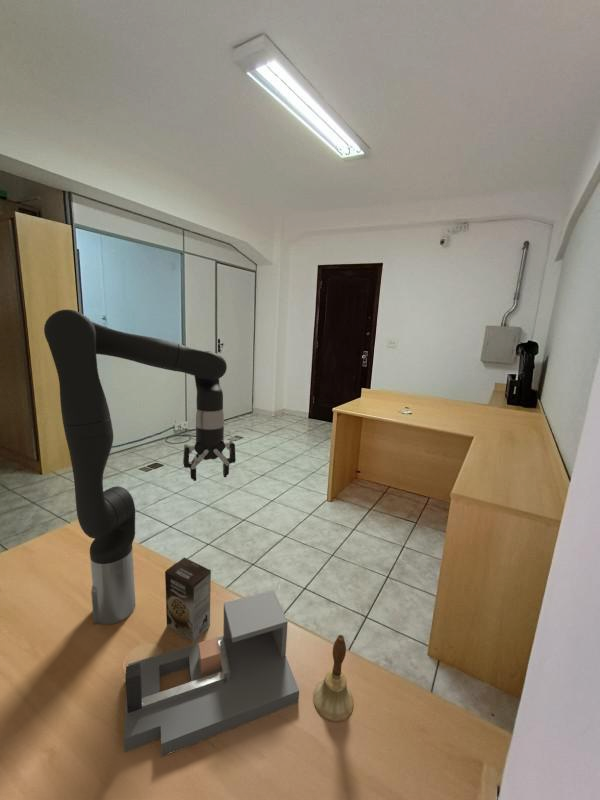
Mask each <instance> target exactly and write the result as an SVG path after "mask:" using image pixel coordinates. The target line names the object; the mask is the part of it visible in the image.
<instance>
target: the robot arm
mask: <svg viewBox="0 0 600 800" xmlns="http://www.w3.org/2000/svg"><path fill="white" fill-rule="evenodd" d="M43 332H44V337H45V340H46V342H47V343H48V344H47V345H48V347H49V351H50V353H51V356H52V360H53V363H54V366H55V369H56V372H57V373H56V374H57V377H58V383H59V384H58V386H59V398H60V413H61V417H62V419H61V420H62V425H63V430H64V434H65V435H64V436H65V440H66V444H67V447H68V451H69V452H68V453H69V456H70V463H71V468H72V474H73V475H72V476H73V483H74V484H73V485H74V495H75V507H76V515H77V520H78V523H79V526H80V528H81V530H82V531H83V533H84V534H85V535H86V536H87V537H89V538H90V539H94V540H93V541H92V542H91V544H90V547H89V557H90V567H91V568H90V571H91V581H92V585H91V591H90V595H91V606H92V617H93V624H94V625H95V624H102V625H115V624H118V623H120V622H122V621H124V620H126V619H127V618H128V617H130V616H131V615H132V613H133V612H134V611H135V608H136V589H135V586H136V585H135V572H134V553H133V552H134V551H133V542H134V540H135V537H136V506H135V505H136V504H135V501H134V499H133V496H132V495H131V492H129V490H128V489H126V488H124V487H123V486H117V485H116V486H111V487H110V488H108V489H106V490H104V483H103V482H104V472H105V468H106V465H107V463H108V460H109V456H110V453H111V451H112V447H113V443H114V430H113V424H112V419H111V413H110V408H109V405H108V401H107V399H106V394H105V392H104V389H103V386H102V382H101V380H100V375H99V369H98V359H97V358H98V357H97V355H103V356H108V357H113V358H114V357H115V358H120V359H123V360H127V361H132V362H135V363H138V364H141V365H142V364H143V365H145V366H150V367H154V368H158V369H163V370H167V371H173V372H179V373H184V374H187V375H191V376H193V377H194V381H195V388H196V413H195V443H194V445H189V444H188V443H187V444H184V445H183V458H182V461H183V462H182V464H183V467H184V468H185V469H187V468H188V469H189V471H190V475H189V476H190V478H191V480H193V482H197V466H198V465H199V464H200V463H201V462H202V461H203V460H204V461H208V460H217V459H218V458H219V460H221V462H222V476H223V478H227V477H228V476H229V474H230V465H231V464H235V463H236V461H237V458H236V443H234V441H233V440H230V441H229V442H224V440H225V439H224V435H225V432H224V430H225V428H224V427H225V425H224V424H225V417H224V415H225V414H224V394H223V389H222V388H221V386H220V378H222V377H223V376H224V375H225V374H226V372H227V369H228V367H227V362H226V360H225V359H224V357H223V356H222V355H220V354H219V353H215V352H213V351H210V350H200V349H195V348H192V347H188V346H186V345H184V344H180V343H177V342H174V341H169V340H166V339H162V338H161V339H160V338H156V337H152V336H145V335H139V334H133V333H128V332H123V331H120V330H115V329H112V328H110V327H106V326H104V325H102V324H100V323H96V322H94V321H92V320H91V319H90V318H89V317H87V316H86V315H85V314H83V313H82V312H79V311H77V310H73V309H61V310H58V311H55V312H54V313H52V314H51V315H50V316H49V317H48V318H47V319H46V321H45V324H44V327H43ZM225 449H227V450H228V451H229V457H226V456H225V454H224V453H223V451H224V450H225ZM193 451H195V452H196V454H195V455H194V456H193V459H192V460H191V461H190V454H193Z"/></svg>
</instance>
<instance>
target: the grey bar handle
mask: <svg viewBox="0 0 600 800" xmlns="http://www.w3.org/2000/svg"><path fill="white" fill-rule="evenodd" d="M218 642H219V647H220V652H221V672H219V673H216V674H213V675H210V676H207V677H204V678H201V679H198V680H195V681H192V682H190V681H189V682H186V683H183V684H179V685H177V686H175V687H171V688H169V689H165V690H162V691H160V692H159V693H156V694H153V695H150V696H147V697H144V698H142V681H141V663H136V664H133V665H130V666H128V665H127V666H126V667H125V677H124V678H125V692H126V694H125V695H126V697H127V712H128V716H131V715H134V714H137V713H139V712H142V711H145V710H148V709H151V708H154V707H157V706H160V705H163V704H165V703H168V702H171V701H174V700H177V699H180V698H183V697H186V696H188V695H191V694H194V693H197V692H200V691H203V690H206V689H209V688H211V687H214V686H217V685H220V684H223V683H226V682H229V681H230V677H231V671H230V667H229V662H228V658H227V653H226V649H225V644H224V640H220V641H218Z"/></svg>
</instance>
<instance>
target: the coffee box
mask: <svg viewBox="0 0 600 800" xmlns="http://www.w3.org/2000/svg"><path fill="white" fill-rule="evenodd" d="M164 575H165V576H164V577H165V579H164V580H165V606H166V608H165V612H166V627H167V628H169V629H170V630H172V631H173V632H175V633H177V634H178V635H180V636H181V637H183V638H185V639H186V640H188V641H189V642H191V643H195V641H197V639H198V638H199V637H200V636H201V635H202V634H203V633H204V632H205V631H206V630H207V629H208V628H209V627H210V625H211V593H212V591H211V588H212V587H211V585H212V584H211V580H212V576H211V575H212V571H211V569H210V568H208V567H206V566H203V565H201V564H199V563H197V562H195V561H193V560H191V559H189V558H186V557H182V558H181V559H180V560H179V561H177V562H176V563H174V564H172V565H171V566H170V567H169V568H167V569H166V570H165V571H164Z"/></svg>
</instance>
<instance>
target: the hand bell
mask: <svg viewBox="0 0 600 800" xmlns="http://www.w3.org/2000/svg"><path fill="white" fill-rule="evenodd" d="M346 653H347V645H346V642H345V637H344V634H343V635H342V634H338V635H337V638H336V639H335V641H334V643H333V647H332V659H333V667H332V669H330V670H328V671H327V672H326V673H325V676H324V679H322V680H321V681H319V682H318V684H317V685H316V686H315V689H314V691H313V705H314V707H315V709H316V711H317V712H318V714H320V716H322V717H323V718H324V719H325V720H328V721H330V722H334V723H336V722H337V723H338V722H342V721H345V720H346V719H348V718H349V716H351V714H352V712H353V709H354V705H355V704H354V703H355V702H354V696H353V693H352V692H351V689H350V688H349V687H348V685H347V684H348V683H347V678H346V676H345V674H344V673H343V672H342V664H343V663H344V660H345V658H346Z"/></svg>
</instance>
